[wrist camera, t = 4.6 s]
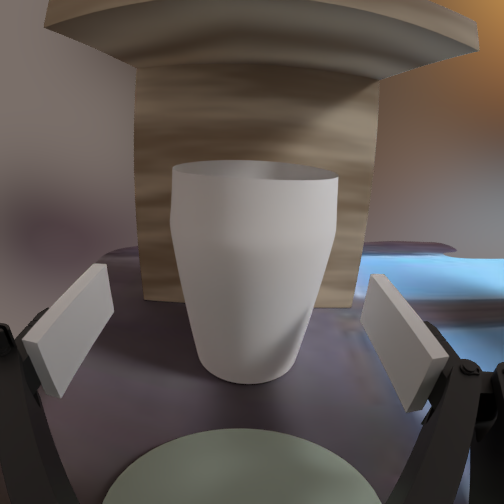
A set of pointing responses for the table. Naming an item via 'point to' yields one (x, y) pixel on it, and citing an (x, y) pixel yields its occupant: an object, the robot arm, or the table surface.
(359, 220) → the shelf
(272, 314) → the cup
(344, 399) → the table surface
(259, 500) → the mat
